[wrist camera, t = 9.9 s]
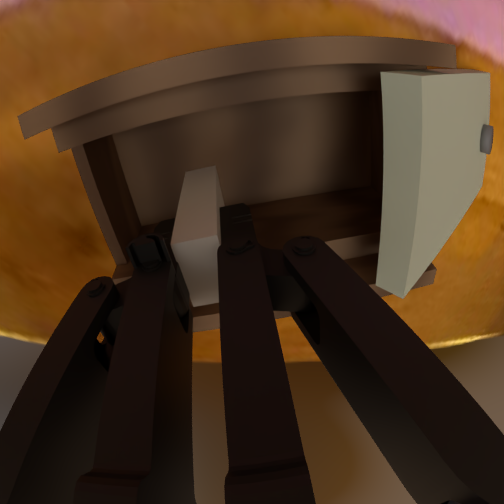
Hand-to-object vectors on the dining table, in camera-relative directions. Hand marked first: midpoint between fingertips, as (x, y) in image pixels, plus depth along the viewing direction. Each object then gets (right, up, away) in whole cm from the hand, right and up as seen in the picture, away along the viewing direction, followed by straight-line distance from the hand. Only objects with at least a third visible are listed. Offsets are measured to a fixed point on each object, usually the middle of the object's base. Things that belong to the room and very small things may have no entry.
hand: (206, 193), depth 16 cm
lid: (+15, +4, +2) cm, 16 cm away
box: (+2, +5, +7) cm, 8 cm away
